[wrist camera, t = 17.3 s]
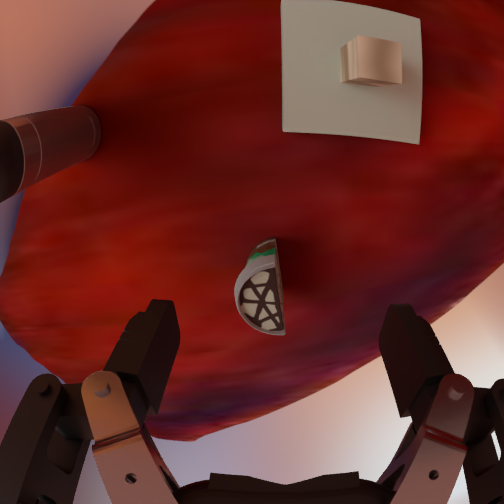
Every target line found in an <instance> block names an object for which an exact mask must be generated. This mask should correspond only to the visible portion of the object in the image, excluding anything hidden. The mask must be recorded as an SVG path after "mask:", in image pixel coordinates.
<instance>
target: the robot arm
mask: <svg viewBox="0 0 504 504" xmlns="http://www.w3.org/2000/svg"><path fill="white" fill-rule="evenodd" d="M100 140H101V125H100V121H99V119H98V117H97V115H96V113H95V112H94V111H93V110H92V109H90V108H89V107H86V106H83V105H82V106H71V107H63V108H57V109H51V110H45V111H40V112H35V113H30V114H25V115H21V116H16V117H13V118H8V119H4V120H0V203H1V202H2V201H4V200H6V199H8V198H10V197H12V196H13V195H15V194H17V193H19V192H20V191H22V190H24V189H26V188H28V187H30V186H32V185H34V184H35V183H37V182H39V181H41V180H43V179H45V178H47V177H50V176H52V175H54V174H56V173H58V172H60V171H62V170H64V169H67V168H69V167H71V166H73V165H76V164H78V163H80V162H82V161H85V160H87V159H89V158H90V157H91V156H92V155H93V154H94V153H95V152H96V150H97V148H98V146H99V144H100ZM179 344H180V329H179V325H178V320H177V316H176V311H175V306H174V303H173V301H171V300H157V299H153V300H151V302H150V304H149V306H148V308H147V309H146V311H145V312H138V313H137V314H136V315H135V316H134V317H132V318H131V319H130V320H129V322H128V324H127V325H126V327H125V329H124V332H123V333H122V335H121V337H120V340H118V342H117V344H116V346H115V348H114V350H113V352H112V354H111V356H110V357H109V359H108V361H107V363H106V365H105V367H104V369H103V371H99V372H95V373H93V374H91V375H90V376H88V377H87V378H86V379H85V381H84V382H83V383H78V384H61V382H60V381H59V379H58V378H57V377H56V376H55V375H53V374H42V375H39V376H37V377H36V378H35V379H34V380H33V381H32V382H31V383H30V385H29V387H28V388H27V390H26V392H25V394H24V396H23V398H22V400H21V402H20V404H19V406H18V408H17V410H16V412H15V414H14V416H13V418H12V420H11V422H10V425H9V427H8V429H7V431H6V434H5V436H4V438H3V440H2V443H1V445H0V504H73V500H74V496H75V492H76V488H77V485H78V481H79V478H80V474H81V471H82V467H83V464H84V461H85V457H86V454H87V451H88V448H89V445H90V441H91V440H92V439H94V440H95V444H94V445H92V451H93V455H94V458H95V461H96V464H97V467H98V470H99V472H100V475H101V478H102V480H103V483H104V485H105V488H106V490H107V493H108V495H109V497H110V499H111V502H112V504H447V502H448V500H449V498H450V495H451V493H452V490H453V488H454V486H455V483H456V480H457V477H458V475H459V472H460V470H461V467H462V464H463V469H464V474H465V479H466V483H467V489H468V495H469V502H470V504H504V379H499V380H497V381H496V382H495V383H494V384H493V386H492V387H491V388H490V389H488V388H477V387H473V385H472V384H471V382H470V381H469V380H468V379H467V378H466V377H464V376H462V375H460V374H455V373H454V371H453V369H452V367H451V365H450V363H449V361H448V358H447V357H446V354H445V353H444V350H443V349H442V346H441V345H439V341H438V339H437V337H435V333H434V331H433V329H432V327H431V326H430V324H429V323H428V322H427V321H426V320H424V319H423V318H422V317H421V316H417V315H416V314H415V312H414V310H413V308H412V306H411V305H410V304H391V305H390V306H389V308H388V310H387V314H386V317H385V320H384V323H383V326H382V329H381V332H380V335H379V349H380V352H381V355H382V358H383V361H384V364H385V368H386V370H387V374H388V377H389V380H390V383H391V387H392V390H393V394H394V397H395V400H396V404H397V408H398V411H399V415H400V417H401V418H402V417H408V416H411V418H412V423H411V424H410V426H409V428H408V430H407V432H406V434H405V436H404V438H403V440H402V442H401V444H400V446H399V448H398V450H397V452H396V454H395V456H394V457H393V459H392V461H391V463H390V464H389V466H388V467H387V469H386V470H385V471H384V472H383V474H382V475H381V476H380V478H379V480H378V481H377V482H373V481H369V480H364V479H359V473H358V471H357V472H349V473H340V474H330V475H322V476H319V477H315V478H312V479H308V480H304V481H301V482H297V483H293V484H288V485H283V484H278V483H274V482H269V481H265V480H261V479H257V478H253V477H250V476H242V475H228V474H218V473H211V474H210V479H209V480H203V481H199V482H194V483H191V484H188V485H185V486H183V487H181V488H180V487H179V485H178V484H177V482H176V480H175V479H174V477H173V475H172V474H171V472H170V471H169V469H168V468H167V466H166V464H165V462H164V461H163V459H162V457H161V455H160V453H159V451H158V449H157V448H156V446H155V444H154V442H153V440H152V438H151V436H150V433H149V431H148V429H147V427H146V425H145V423H144V421H145V418H146V415H147V414H152V415H157V414H158V411H159V407H160V404H161V401H162V398H163V394H164V391H165V388H166V385H167V382H168V379H169V376H170V372H171V369H172V366H173V363H174V360H175V357H176V354H177V351H178V348H179ZM493 431H495V433H496V436H497V439H498V443H499V446H500V449H501V457H500V460H498V456H497V453H496V449H495V446H494V442H493V439H492V436H491V434H492V432H493ZM53 432H54V433H53Z"/></svg>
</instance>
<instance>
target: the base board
mask: <svg viewBox="0 0 504 504" xmlns="http://www.w3.org/2000/svg"><path fill="white" fill-rule="evenodd" d="M357 35H361V36H367V37H373V38H379V39H384V40H389V41H393V42H398V43H401V56H402V84H400V85H388V86H378V87H374V86H367V85H359V84H350V83H341V72H340V48H341V47H343V46H344V45H345V44H347V43H348V42H349V41H351V40H352V39H353V38H355V37H356V36H357ZM281 36H282V130H283V132H302V133H321V134H336V135H348V136H359V137H368V138H377V139H385V140H392V141H399V142H406V143H412V144H419V140H420V127H421V111H422V43H421V28H420V19H418V18H414V17H411V16H407V15H404V14H400V13H396V12H392V11H388V10H384V9H379V8H375V7H370V6H365V5H359V4H354V3H347V2H341V1H333V0H281Z"/></svg>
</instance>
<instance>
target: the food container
mask: <svg viewBox="0 0 504 504" xmlns="http://www.w3.org/2000/svg"><path fill="white" fill-rule="evenodd" d="M234 294H235V300H236V305H237V308H238V311H239V313H240V314H241V316H242V318H243V319H244V320H245V321H246V322H247V323H248V324H249V325H250V326H252V327H253V328H255V329H256V330H259V331H261V332H264V333H267V334H272V335H285V324H284V303H283V287H282V280H281V272H280V265H279V258H278V251H277V245H276V238H275V237H274V238H270V239H267V240H265V241H263V242H260V243H259V244H258V245H257V246H256V247H255V248H254V249H252V251H251V253H250V255H249V257H248V260H247V264H246V267H245V269H244V270H243V271H242V272H241V273H240V275H239V276H238V279H237V281H236V284H235V292H234Z"/></svg>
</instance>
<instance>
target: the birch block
mask: <svg viewBox="0 0 504 504" xmlns="http://www.w3.org/2000/svg"><path fill="white" fill-rule="evenodd" d="M340 72H341V83H350V84H359V85H367V86H374V87H378V86H388V85H400V84H402V56H401V43H398V42H393V41H389V40H384V39H379V38H373V37H367V36H361V35H357V36H356V37H355V38H353V39H352V40H351V41H349V42H348V43H347V44H345V45H344V46H343V47H341V48H340Z"/></svg>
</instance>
